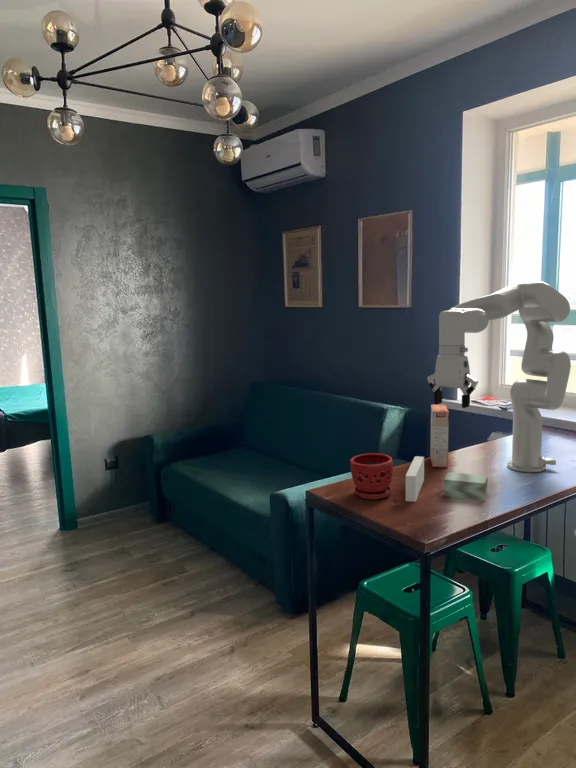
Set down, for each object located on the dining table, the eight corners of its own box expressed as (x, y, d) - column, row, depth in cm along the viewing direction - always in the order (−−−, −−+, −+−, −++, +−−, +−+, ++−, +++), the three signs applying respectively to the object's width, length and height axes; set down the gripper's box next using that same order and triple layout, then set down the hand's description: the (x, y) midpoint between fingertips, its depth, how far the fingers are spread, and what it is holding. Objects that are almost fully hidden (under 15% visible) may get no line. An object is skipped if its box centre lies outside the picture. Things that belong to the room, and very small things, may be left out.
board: (424, 479, 193) (424, 456, 192) (415, 501, 172) (415, 476, 171) (415, 479, 194) (415, 456, 193) (405, 500, 173) (405, 475, 172)
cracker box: (449, 468, 205) (449, 411, 202) (431, 467, 206) (431, 411, 203) (446, 457, 218) (446, 403, 215) (430, 457, 219) (430, 403, 216)
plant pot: (367, 485, 189) (366, 450, 187) (401, 493, 180) (400, 456, 178) (342, 496, 180) (341, 459, 178) (377, 505, 171) (376, 466, 169)
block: (487, 492, 179) (487, 475, 178) (484, 500, 172) (485, 483, 171) (448, 488, 184) (448, 472, 183) (444, 496, 177) (444, 479, 176)
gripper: (484, 350, 171) (483, 406, 173) (434, 348, 184) (434, 400, 186) (470, 353, 166) (470, 410, 168) (420, 350, 179) (421, 404, 181)
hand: (451, 405), depth 177 cm, fingers open, 9 cm apart
